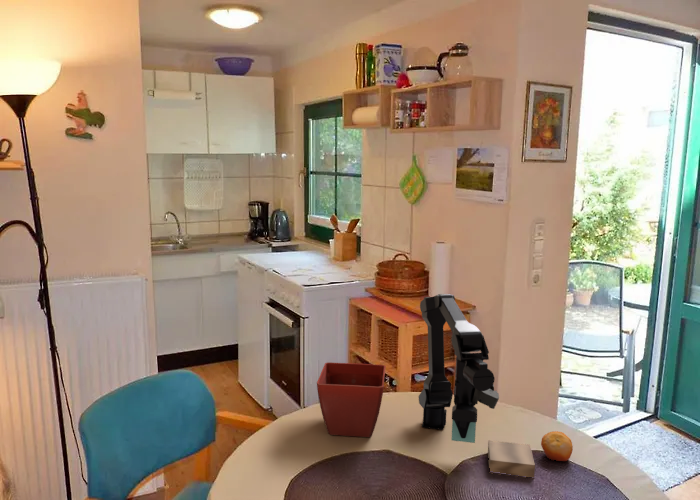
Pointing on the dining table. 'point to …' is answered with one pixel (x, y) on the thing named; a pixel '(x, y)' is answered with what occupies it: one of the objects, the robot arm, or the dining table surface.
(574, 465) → the dining table surface
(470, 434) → the teal cube
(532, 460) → the light tan wooden block
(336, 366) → the plant pot
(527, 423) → the dining table surface
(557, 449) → the fruit
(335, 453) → the dining table surface
